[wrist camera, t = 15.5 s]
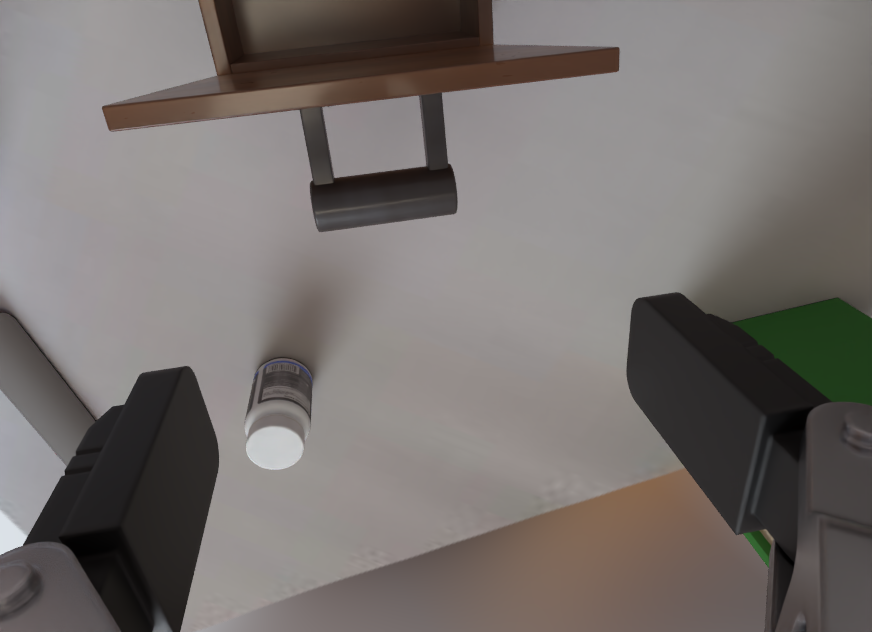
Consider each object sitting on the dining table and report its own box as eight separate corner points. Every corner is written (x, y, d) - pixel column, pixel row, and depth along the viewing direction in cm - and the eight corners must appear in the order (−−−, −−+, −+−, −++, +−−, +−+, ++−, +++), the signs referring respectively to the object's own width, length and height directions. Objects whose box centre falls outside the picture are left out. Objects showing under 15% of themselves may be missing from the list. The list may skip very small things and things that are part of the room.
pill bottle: (286, 413, 50) (278, 484, 43) (241, 382, 48) (224, 452, 41) (325, 378, 49) (323, 446, 42) (281, 345, 47) (271, 410, 40)
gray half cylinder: (103, 503, 52) (96, 519, 50) (-51, 322, 42) (-66, 335, 41) (149, 487, 52) (143, 503, 50) (5, 303, 42) (-8, 315, 41)
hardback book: (648, 407, 56) (832, 653, 35) (648, 342, 52) (854, 574, 31) (825, 364, 57) (1108, 581, 36) (837, 297, 53) (1161, 496, 32)
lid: (100, 106, 16) (155, 276, 19) (620, 46, 18) (615, 212, 20) (215, 75, 31) (238, 172, 33) (495, 44, 32) (499, 139, 35)
